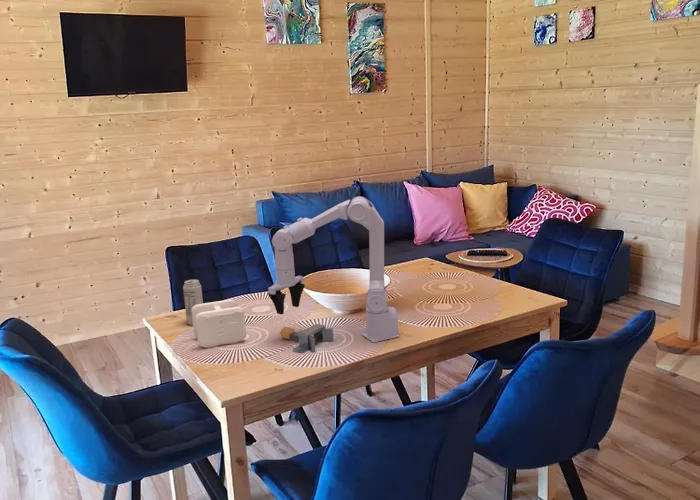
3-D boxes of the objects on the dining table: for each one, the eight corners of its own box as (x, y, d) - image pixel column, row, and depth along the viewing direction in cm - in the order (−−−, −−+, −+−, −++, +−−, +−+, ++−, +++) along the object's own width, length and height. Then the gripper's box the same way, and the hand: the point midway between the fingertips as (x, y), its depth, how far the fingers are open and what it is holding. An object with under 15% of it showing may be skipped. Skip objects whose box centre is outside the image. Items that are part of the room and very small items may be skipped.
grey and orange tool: (318, 342, 202) (317, 331, 201) (311, 346, 199) (310, 335, 198) (285, 335, 209) (285, 324, 208) (278, 339, 206) (277, 328, 205)
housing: (338, 338, 204) (337, 323, 203) (309, 355, 192) (308, 339, 191) (322, 335, 207) (321, 320, 206) (293, 351, 195) (291, 336, 194)
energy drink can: (208, 322, 224) (204, 280, 221) (194, 327, 220) (189, 285, 216) (197, 319, 228) (193, 278, 225) (183, 324, 224) (178, 282, 220)
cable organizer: (240, 331, 214) (237, 298, 211) (247, 342, 204) (244, 307, 202) (194, 339, 209) (190, 305, 206) (198, 350, 199) (195, 314, 197)
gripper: (289, 261, 209) (292, 301, 212) (259, 272, 197) (263, 315, 200) (307, 263, 205) (309, 304, 208) (277, 275, 193) (280, 318, 197)
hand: (288, 310), depth 204 cm, fingers open, 7 cm apart
